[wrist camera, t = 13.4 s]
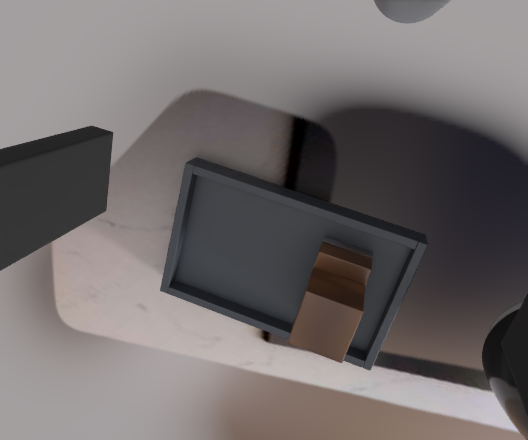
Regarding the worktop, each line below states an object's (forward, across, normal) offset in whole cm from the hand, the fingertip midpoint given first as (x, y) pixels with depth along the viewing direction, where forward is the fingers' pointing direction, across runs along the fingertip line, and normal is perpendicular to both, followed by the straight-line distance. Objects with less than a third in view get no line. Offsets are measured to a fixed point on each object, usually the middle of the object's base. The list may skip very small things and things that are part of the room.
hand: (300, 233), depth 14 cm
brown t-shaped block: (+25, +2, -15) cm, 29 cm away
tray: (+26, -3, -14) cm, 30 cm away
